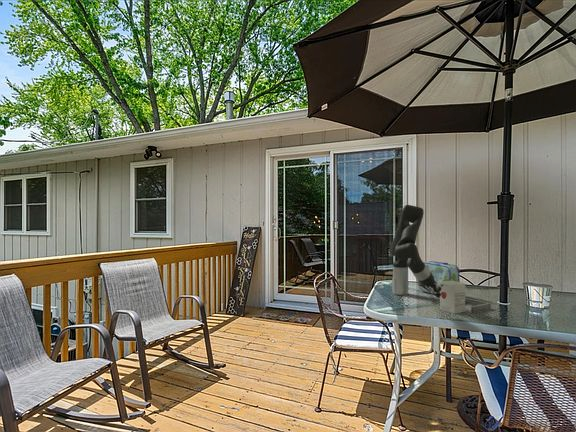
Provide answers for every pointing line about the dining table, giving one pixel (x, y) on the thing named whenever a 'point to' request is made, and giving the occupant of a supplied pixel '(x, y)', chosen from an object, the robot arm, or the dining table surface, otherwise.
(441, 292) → the supplement box
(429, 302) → the dining table surface
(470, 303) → the tray
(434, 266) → the lunch box
